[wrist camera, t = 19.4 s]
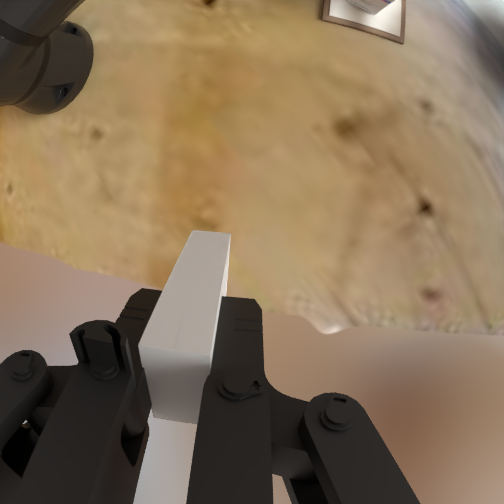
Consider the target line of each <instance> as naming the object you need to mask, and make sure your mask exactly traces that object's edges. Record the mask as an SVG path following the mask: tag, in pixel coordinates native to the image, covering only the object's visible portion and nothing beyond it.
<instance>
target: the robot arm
mask: <svg viewBox="0 0 504 504" xmlns="http://www.w3.org/2000/svg"><path fill="white" fill-rule="evenodd" d="M84 1H85V0H0V106H6V105H14V106H16V107H18V108H20V109H22V110H25V111H27V112H29V113H32V114H49V113H53V112H56V111H59V110H61V109H63V108H64V107H66V106H67V105H68V104H69V103H71V102H72V101H73V100H74V99H75V97H76V96H77V95H78V94H79V92H80V91H81V89H82V88H83V86H84V84H85V83H86V81H87V78H88V76H89V73H90V70H91V67H92V62H93V44H92V40H91V37H90V35H89V34H88V32H87V31H86V30H85V29H84V28H83V27H81V26H80V25H78V24H75V23H72V22H69V21H64V20H65V19H66V18H67V17H68V16H69V15H70V14H71V13H72V12H73V11H74V10H75V9H76V8H77V7H78V6H79V5H80V4H81V3H83V2H84ZM230 238H231V233H220V232H209V231H197V230H192V232H191V234H190V236H189V238H188V240H187V242H186V244H185V246H184V248H183V250H182V252H181V254H180V256H179V258H178V260H177V262H176V264H175V266H174V268H173V270H172V272H171V274H170V277H169V279H168V281H167V283H166V285H165V287H164V289H163V291H161V290H153V289H144V288H142V289H140V290H139V291H137V292H136V293H135V294H133V295H132V296H131V297H130V298H129V300H128V302H127V303H126V305H125V308H124V309H123V310H122V312H121V314H120V317H118V319H117V320H116V322H115V323H113V322H110V321H108V320H94V321H89V322H85V323H83V324H81V325H79V326H77V327H76V328H75V329H74V330H73V331H72V332H71V333H70V334H69V335H70V338H71V341H72V344H73V347H74V350H75V352H76V356H77V358H78V361H79V362H78V364H77V365H72V366H47V363H46V361H45V359H44V358H43V357H42V356H41V355H40V354H39V353H38V352H35V351H32V350H22V351H19V352H15V353H14V354H12V355H10V356H9V357H8V358H6V359H5V360H4V361H3V362H2V363H1V364H0V504H133V501H134V497H135V492H136V487H137V482H138V479H139V474H140V470H141V466H142V462H143V457H144V453H145V449H146V445H147V441H148V437H149V426H148V422H147V420H148V417H149V413H150V409H152V413H153V416H154V417H155V418H160V419H166V420H172V421H178V422H185V423H192V424H197V432H196V437H195V444H194V451H193V458H192V465H191V472H190V479H189V487H188V495H187V503H186V504H273V485H272V484H273V482H272V474H275V475H279V476H282V478H283V480H284V483H285V486H286V489H287V492H288V494H289V497H290V500H291V502H292V504H420V502H419V501H418V499H417V497H416V495H415V494H414V492H413V490H412V489H411V487H410V485H409V484H408V482H407V480H406V478H405V477H404V475H403V473H402V472H401V470H400V468H399V467H398V465H397V463H396V462H395V460H394V458H393V456H392V455H391V453H390V451H389V450H388V448H387V446H386V445H385V443H384V441H383V440H382V438H381V436H380V435H379V433H378V431H377V430H376V428H375V426H374V425H373V423H372V421H371V420H370V418H369V416H368V415H367V413H366V411H365V410H364V408H363V407H362V406H361V405H360V404H359V403H358V402H357V401H356V400H354V399H352V398H350V397H349V396H347V395H344V394H340V393H323V394H321V395H318V396H316V397H314V398H313V399H312V400H311V401H310V402H307V401H303V400H300V399H296V398H292V397H290V396H287V395H284V394H282V393H280V392H279V391H277V390H276V389H274V387H273V386H272V385H271V384H270V383H269V382H268V380H267V378H266V376H265V372H264V354H263V333H262V332H263V327H262V309H261V308H260V306H259V305H258V303H257V302H256V300H255V299H248V298H237V297H227V296H226V292H227V278H228V264H229V251H230ZM25 420H27V421H28V422H27V423H25V424H23V423H24V421H25Z"/></svg>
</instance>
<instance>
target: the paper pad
mask: <svg viewBox="0 0 504 504" xmlns="http://www.w3.org/2000/svg"><path fill="white" fill-rule="evenodd" d="M405 11H406V0H395V1H394V2H392V3H391V4H390V5H388V6H387V7H385V8H384V9H383V10H381V11H380V12H379V13H377V14H376V15H373V14H371V13H369V12H367V11H365V10H363V9H361V8H359V7H357V6H355V5H353V4H352V3H350V2H348V1H346V0H324V3H323V13H322V21H326V22H331V23H335V24H339V25H343V26H347V27H350V28H354V29H357V30H361V31H364V32H368V33H371V34H374V35H377V36H380V37H383V38H386V39H389V40H392V41H394V42H397V43H400V44H404V36H405Z"/></svg>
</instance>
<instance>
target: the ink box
mask: <svg viewBox="0 0 504 504" xmlns="http://www.w3.org/2000/svg"><path fill="white" fill-rule="evenodd" d="M346 1H348V2H350V3H352V4H353V5H355V6H357V7H359V8H361V9H363V10H365V11H367V12H369V13H371V14H373V15H376V14H377V13H379V12H380V11H381V10H383V9H384V8H385V7H387V6H388V5H390V4H391V3H392V2H394V1H395V0H346Z"/></svg>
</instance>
